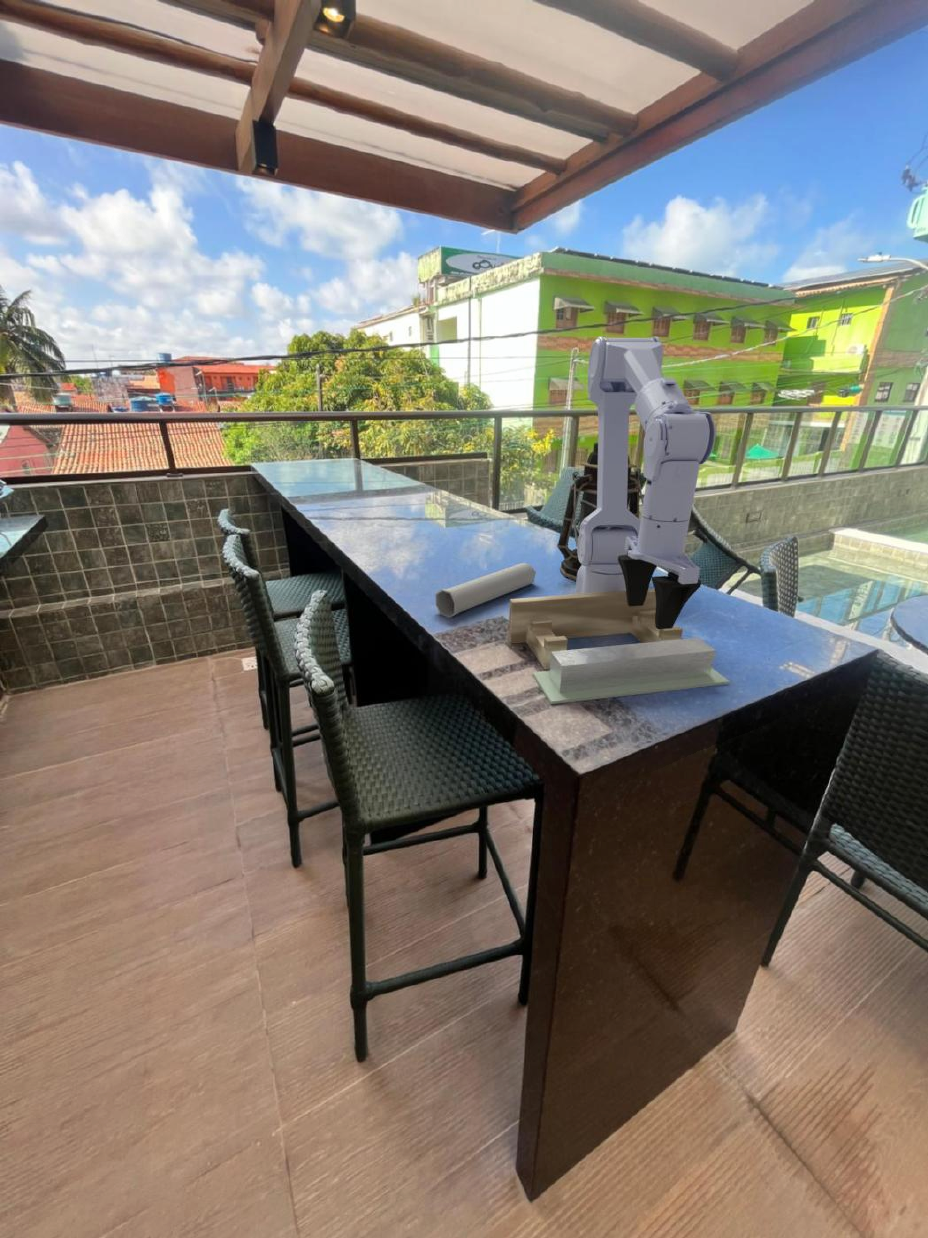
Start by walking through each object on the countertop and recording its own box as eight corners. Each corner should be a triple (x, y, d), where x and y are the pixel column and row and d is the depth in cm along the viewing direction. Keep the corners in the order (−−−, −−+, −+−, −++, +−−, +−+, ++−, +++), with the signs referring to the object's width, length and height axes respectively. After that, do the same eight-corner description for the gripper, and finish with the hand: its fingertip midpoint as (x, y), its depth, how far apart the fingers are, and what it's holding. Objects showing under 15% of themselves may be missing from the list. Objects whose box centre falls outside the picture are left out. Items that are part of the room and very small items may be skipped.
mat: (532, 674, 71) (532, 672, 71) (695, 658, 76) (695, 655, 75) (551, 704, 64) (551, 701, 64) (728, 683, 69) (729, 681, 69)
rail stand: (508, 639, 81) (510, 599, 79) (655, 626, 86) (662, 587, 83) (528, 671, 72) (531, 626, 69) (692, 654, 77) (701, 612, 74)
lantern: (613, 558, 121) (630, 425, 109) (657, 579, 108) (681, 429, 96) (538, 567, 115) (547, 426, 103) (574, 590, 102) (589, 431, 90)
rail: (549, 677, 70) (551, 651, 68) (692, 662, 74) (697, 637, 72) (559, 692, 66) (562, 666, 64) (710, 676, 70) (715, 650, 68)
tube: (517, 561, 107) (431, 590, 91) (537, 558, 103) (451, 588, 87) (523, 585, 108) (438, 618, 92) (542, 583, 104) (458, 617, 88)
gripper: (609, 506, 69) (598, 598, 75) (667, 532, 56) (649, 642, 62) (657, 504, 70) (642, 595, 76) (724, 529, 57) (701, 637, 63)
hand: (648, 616), depth 69 cm, fingers open, 7 cm apart
